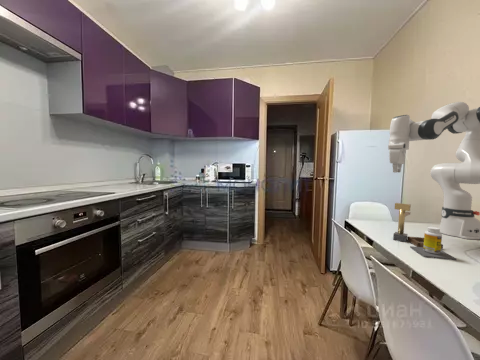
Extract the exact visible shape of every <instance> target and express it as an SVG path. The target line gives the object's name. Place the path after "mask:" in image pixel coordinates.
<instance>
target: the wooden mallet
mask: <svg viewBox="0 0 480 360" xmlns="http://www.w3.org/2000/svg"><path fill="white" fill-rule="evenodd" d="M411 205H412V204H409V203H401V202H394V210H399V211H398V222H397V224H398V225H397V226H398V227H397V232H398V233H399V234H404V232H405V220H406V219H405V218H406V217H407V216H410V215H411Z"/></svg>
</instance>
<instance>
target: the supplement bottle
mask: <svg viewBox="0 0 480 360" xmlns="http://www.w3.org/2000/svg"><path fill="white" fill-rule="evenodd" d="M423 235H424V237H423V238H424V242H423V243H424V246H423V250H424V251H426V252H429V253H433V254H439V253H440V252H441V250H442V249H441V244H442V241H443V240H442V238H443V233H440V229H439V227H436V226H427V228H426V230H425V231H424V234H423Z"/></svg>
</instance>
